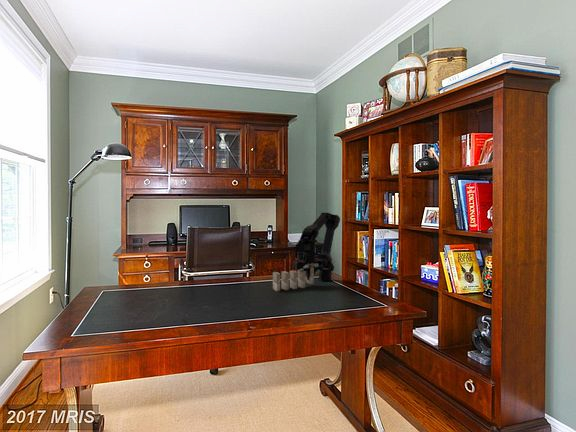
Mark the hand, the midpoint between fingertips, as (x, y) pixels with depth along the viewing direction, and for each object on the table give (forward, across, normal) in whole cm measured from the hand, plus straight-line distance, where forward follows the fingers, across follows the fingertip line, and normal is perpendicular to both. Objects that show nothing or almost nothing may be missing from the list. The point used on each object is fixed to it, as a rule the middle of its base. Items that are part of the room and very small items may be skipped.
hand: (309, 279), depth 210 cm
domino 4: (+4, +5, 0) cm, 6 cm away
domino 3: (+4, +10, 0) cm, 11 cm away
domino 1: (+4, +20, 0) cm, 20 cm away
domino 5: (+2, 0, 0) cm, 2 cm away
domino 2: (+4, +15, 0) cm, 16 cm away
